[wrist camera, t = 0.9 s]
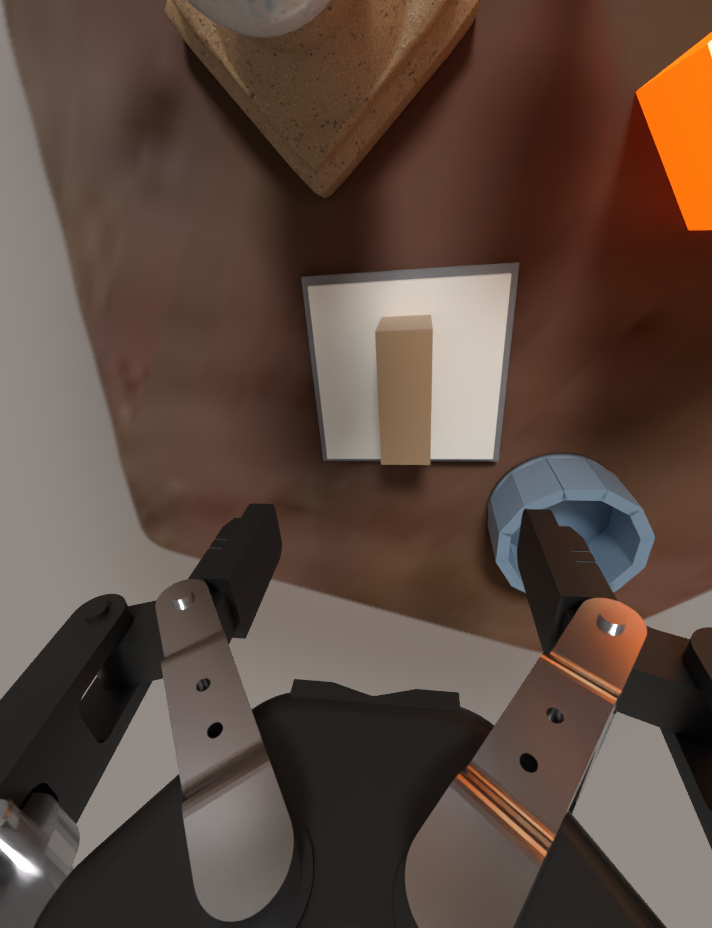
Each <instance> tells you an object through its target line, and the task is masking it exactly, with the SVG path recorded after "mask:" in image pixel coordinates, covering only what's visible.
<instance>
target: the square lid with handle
mask: <svg viewBox="0 0 712 928" xmlns="http://www.w3.org/2000/svg"><path fill="white" fill-rule="evenodd" d="M510 284H511V273H503V274H487V275H471V276H455V277H439V278H423V279H407V280H391V281H375V282H359V283H343V284H327V285H311V286H308V295H309V303H310V312H311V321H312V329H313V338H314V347H315V356H316V364H317V373H318V382H319V390H320V399H321V408H322V416H323V425H324V434H325V442H326V451H327V459H381V465H430V459H493V454H494V444H495V434H496V424H497V414H498V404H499V394H500V384H501V374H502V364H503V354H504V344H505V334H506V324H507V314H508V304H509V294H510Z"/></svg>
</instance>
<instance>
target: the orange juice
mask: <svg viewBox="0 0 712 928" xmlns="http://www.w3.org/2000/svg"><path fill="white" fill-rule="evenodd" d="M636 94H637V97H638V100H639V102H640V105H641V107H642V110H643V113H644V115H645V118H646V121H647V123H648V126H649V128H650V131H651V134H652V136H653V139H654V142H655V144H656V147H657V149H658V152H659V155H660V157H661V160H662V162H663V165H664V168H665V170H666V173H667V176H668V178H669V181H670V183H671V186H672V189H673V191H674V194H675V197H676V199H677V202H678V204H679V207H680V210H681V212H682V215H683V218H684V220H685V223H686V225H687V228H688V230H712V32H711V33H710V34H709V35H707V36H706V37H705V38H704V39H702V40H701V41H700V42H698V43H697V44H696V45H695V46H693V47H692V48H691V49H690V50H688V51H687V52H686V53H684V54H683V55H682V56H681V57H679V58H678V59H677V60H676V61H674V62H673V63H672V64H671V65H669V66H668V67H667V68H665V69H664V70H663V71H662V72H660V73H659V74H658V75H657V76H655V77H654V78H653V79H651V80H650V81H649V82H648V83H646V84H645V85H644V86H643V87H641V88H640V89H639V90H637V91H636Z"/></svg>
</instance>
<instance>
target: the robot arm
mask: <svg viewBox="0 0 712 928" xmlns="http://www.w3.org/2000/svg"><path fill="white" fill-rule="evenodd" d="M281 550H282V541H281V535H280V530H279V525H278V520H277V515H276V510H275V507H274V505H273V504H250V505H249V506H248V507H247V509H246V510H245V512H244V514H243V515H242V517H241V518H234V519H233V520H231V521H230V522H229V523H228V524H226V525H225V526H224V527H222V529H221V530H220V532H219V533H218V535H217V536H216V540H214V541H213V542H212V544H211V545H210V549H208V550H207V551H206V553H205V554H204V556H203V557H202V559H201V560H200V562H199V564H198V565H197V567H196V568H195V569H194V571H193V573H192V574H191V575H190V577H189V578H188V579H186V580H182V581H179V582H177V583H174V584H172V585H171V586H169V587H168V588H166V589H165V590H164V591H163V592H162V593H161V594H160V596H159V597H158V598H157V600H156V601H152V602H147V603H142V604H137V605H133V606H128V605H127V603H126V601H125V599H124V598H123V597H122V596H120V595H117V594H106V595H102V596H99V597H96V598H94V599H91V600H90V601H88V602H86V603H84V604H83V605H82V606H80V607H79V608H78V609H77V610H76V611H75V612H74V613H73V614H72V615H71V617H70V618H69V619H68V620H67V621H66V622H65V624H64V625H63V626H62V627H61V628H60V630H59V631H58V632H57V633H56V634H55V636H54V637H53V638H52V639H51V640H50V641H49V643H48V644H47V645H46V646H45V648H44V649H43V650H42V651H41V652H40V654H39V655H38V656H37V657H36V658H35V659H34V661H33V662H32V663H31V664H30V665H29V667H28V668H27V669H26V670H25V671H24V672H23V674H22V675H21V676H20V677H19V678H18V680H17V681H16V682H15V683H14V684H13V686H12V687H11V688H10V689H9V690H8V692H7V693H6V694H5V695H4V696H3V698H2V699H1V700H0V928H666V926H665V925H664V924H663V923H662V922H661V920H660V919H659V918H658V917H657V916H656V914H655V913H654V912H653V911H652V910H651V909H650V907H649V906H648V905H647V904H646V903H645V901H644V900H643V899H642V898H641V897H640V895H639V894H638V893H637V892H636V891H635V889H634V888H633V887H632V886H631V884H630V883H629V882H628V881H627V880H626V878H625V877H624V876H623V875H622V874H621V873H620V871H619V870H618V869H617V868H616V866H615V865H614V864H613V863H612V862H611V861H610V859H609V858H608V857H607V856H606V855H605V854H604V852H603V851H602V850H601V849H600V847H599V846H598V845H597V844H596V843H595V841H594V840H593V839H592V838H591V837H590V835H589V834H588V833H587V832H586V831H585V830H584V828H583V827H582V826H581V825H580V824H579V822H578V821H577V820H576V819H575V818H574V816H573V812H574V810H575V808H576V805H577V803H578V801H579V798H580V796H581V794H582V791H583V789H584V786H585V784H586V782H587V779H588V777H589V774H590V772H591V770H592V767H593V765H594V763H595V760H596V758H597V756H598V754H599V751H600V749H601V747H602V744H603V742H604V740H605V738H606V735H607V733H608V731H609V729H610V726H611V724H612V721H613V719H614V717H615V715H616V713H617V712H620V713H623V714H625V715H628V716H631V717H633V718H636V719H639V720H642V721H644V722H647V723H650V724H652V725H655V726H658V727H660V729H661V731H662V734H663V736H664V738H665V741H666V743H667V745H668V748H669V750H670V752H671V755H672V757H673V759H674V762H675V764H676V767H677V769H678V771H679V774H680V776H681V778H682V781H683V783H684V785H685V788H686V790H687V792H688V795H689V797H690V799H691V802H692V804H693V806H694V809H695V811H696V813H697V816H698V818H699V820H700V823H701V825H702V827H703V830H704V832H705V835H706V837H707V839H708V841H709V844H710V846H711V849H712V628H709V627H708V628H701V629H698V630H696V631H695V632H694V633H693V634H692V636H691V638H690V639H687V638H683V637H680V636H676V635H672V634H669V633H665V632H662V631H659V630H656V629H653V628H650V627H648V626H646V624H645V622H644V621H643V619H642V618H641V617H640V616H639V615H638V614H637V613H636V612H635V611H634V610H633V609H631V608H630V607H628V606H626V605H625V604H623V603H620V602H618V601H617V599H616V597H615V595H614V593H613V592H612V590H611V588H610V586H609V584H608V582H607V580H606V579H605V577H604V575H603V573H602V571H601V569H600V568H599V566H598V564H597V563H596V560H595V558H594V556H593V555H592V553H590V549H589V547H588V545H587V544H586V542H585V540H584V538H583V537H582V536H581V535H580V534H578V533H577V532H576V531H575V530H574V529H572V528H571V527H570V526H559V525H558V523H557V521H556V519H555V516H554V514H553V512H552V511H551V510H550V509H524V510H523V513H522V519H521V526H520V532H519V539H518V546H517V563H518V568H519V572H520V575H521V579H522V582H523V585H524V589H525V592H526V595H527V599H528V602H529V605H530V609H531V612H532V615H533V619H534V622H535V626H536V629H537V632H538V636H539V639H540V642H541V646H542V649H543V652H544V653H543V654H542V655H541V656H540V658H539V659H538V661H537V662H536V664H535V665H534V667H533V668H532V670H531V672H530V673H529V674H528V676H527V677H526V679H525V681H524V682H523V683H522V685H521V687H520V688H519V689H518V691H517V693H516V694H515V696H514V697H513V699H512V700H511V702H510V703H509V705H508V706H507V708H506V709H505V711H504V712H503V714H502V715H501V717H500V718H499V720H498V721H497V723H496V724H495V726H494V725H493V724H491V723H490V722H489V721H487V720H485V719H484V718H483V717H481V716H479V715H478V714H476V713H474V712H471V711H470V710H467V709H465V708H462V707H460V702H459V693H457V692H445V691H433V690H421V689H414V690H409V691H403V692H397V693H391V694H385V695H379V696H370V695H367V694H364V693H361V692H359V691H356V690H353V689H350V688H347V687H345V686H342V685H339V684H336V683H333V682H323V681H311V680H310V681H309V680H298V679H294V682H293V686H292V689H291V693H286V694H282V695H279V696H276V697H274V698H271V699H269V700H267V701H265V702H263V703H261V704H260V705H258V706H256V707H255V708H253V709H252V710H251V707H250V704H249V701H248V698H247V695H246V693H245V690H244V687H243V684H242V681H241V678H240V676H239V673H238V670H237V667H236V664H235V661H234V658H233V656H232V653H231V650H230V647H229V643H230V641H231V639H232V638H246V636H247V634H248V632H249V629H250V627H251V625H252V622H253V620H254V618H255V615H256V613H257V611H258V608H259V606H260V604H261V601H262V599H263V596H264V594H265V592H266V589H267V587H268V585H269V582H270V580H271V578H272V576H273V573H274V571H275V569H276V566H277V564H278V562H279V559H280V556H281ZM96 675H97V678H96V679H95V680H94V682H93V683H92V685H91V687H90V688H89V689H88V691H87V693H86V694H85V696H84V697H83V699H82V700H81V698H82V696H83V694H84V693H85V691H86V690H87V688H88V687H89V685H90V684H91V682H92V680H93V679H94V678H95V676H96ZM162 678H163V680H164V686H165V692H166V698H167V703H168V710H169V716H170V721H171V727H172V733H173V739H174V745H175V751H176V757H177V763H178V769H179V775H177V776H176V777H175V778H174V779H173V780H172V781H171V782H169V784H167V785H166V786H165V787H164V788H163V789H162V790H161V791H159V792H158V793H157V794H156V795H155V796H154V797H153V798H152V799H151V800H149V801H148V802H147V803H146V804H145V805H144V806H143V807H142V808H140V809H139V810H138V811H137V812H136V813H135V814H134V815H133V816H132V817H131V818H129V819H128V820H127V821H126V822H125V823H124V824H123V825H121V826H120V827H119V828H118V829H117V830H116V831H115V832H114V833H112V834H111V835H110V836H109V837H108V838H107V839H106V840H105V841H104V842H102V843H101V844H100V845H99V846H98V847H97V848H96V849H95V850H93V851H92V852H91V853H90V854H89V855H88V856H87V857H86V858H85V859H84V860H83V861H82V862H81V863H80V864H78V865H77V866H76V867H75V868H74V869H73V866H72V864H73V861H74V859H75V856H76V854H77V851H78V847H79V840H80V835H79V829H78V827H77V825H76V823H77V821H78V819H79V818H80V816H81V814H82V812H83V810H84V808H85V807H86V805H87V803H88V801H89V799H90V797H91V795H92V793H93V792H94V790H95V788H96V786H97V784H98V782H99V780H100V778H101V776H102V775H103V773H104V771H105V769H106V767H107V765H108V763H109V761H110V760H111V758H112V756H113V754H114V752H115V750H116V748H117V746H118V745H119V743H120V741H121V739H122V737H123V735H124V733H125V731H126V729H127V728H128V725H129V724H130V722H131V720H132V718H133V716H134V715H135V713H136V711H137V709H138V707H139V705H140V703H141V701H142V700H143V697H144V696H145V694H146V692H147V690H148V688H149V686H150V685H151V683H152V681H153V680H158V679H162ZM80 701H81V702H80ZM72 869H73V870H72Z"/></svg>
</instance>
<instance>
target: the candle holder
mask: <svg viewBox="0 0 712 928" xmlns="http://www.w3.org/2000/svg"><path fill="white" fill-rule="evenodd" d="M479 1H480V0H167V2H166V6H165V10H164V11H165V13H166V15H167V17H168V19H169V20H170V22H171V23H172V24H173V26H174V27H175V28H176V30H177V31H178V32H179V34H180V35H181V36H182V38H183V39H184V40H185V42H186V43H187V44H188V46H189V47H190V48H191V50H192V51H193V52H194V53H195V54H196V56H197V57H198V58H199V59H200V60H201V62H202V63H203V64H204V65H205V66H206V67H207V69H208V70H209V71H210V72H211V73H212V75H213V76H214V77H215V78H216V79H217V80H218V82H219V83H220V84H221V85H222V86H223V88H224V89H225V90H226V91H227V92H228V93H229V95H230V96H231V97H232V98H233V99H234V101H235V102H236V103H237V104H238V105H239V107H240V108H241V109H242V110H243V111H244V112H245V114H246V115H247V116H248V117H249V118H250V120H251V121H252V122H253V123H254V124H255V125H256V127H257V128H258V129H259V130H260V131H261V133H262V134H263V135H264V136H265V137H266V138H267V140H268V141H269V142H270V143H271V144H272V146H273V147H274V148H275V149H276V150H277V151H278V153H279V154H280V155H281V156H282V157H283V159H284V160H285V161H286V162H287V163H288V164H289V166H290V167H291V168H292V169H293V170H294V172H295V173H296V174H297V175H298V176H299V177H300V178H301V179H302V180H303V181H304V182H305V183H306V184H307V185H308V186H309V187H310V188H311V189H312V191H313V192H314V193H316V194H318V195H319V196H321V197H323V198H325V199H326V198H328V197H330V196H332V195H333V193H334V192H335V191H336V190H337V189H338V188H339V187H340V186H341V185H342V184H343V182H344V181H345V180H346V179H347V178H348V177H349V176H350V175H351V173H352V172H353V171H354V170H355V169H356V167H357V166H358V165H359V164H360V163H361V161H362V160H363V159H364V158H365V157H366V155H367V154H368V153H369V152H370V150H371V149H372V148H373V147H374V146H375V144H376V143H377V142H378V141H379V140H380V138H381V137H382V136H383V135H384V134H385V132H386V131H387V130H388V129H389V127H390V126H391V125H392V124H393V123H394V121H395V120H396V119H397V118H398V117H399V115H400V114H401V113H402V112H403V111H404V109H405V108H406V107H407V106H408V104H409V103H410V102H411V101H412V100H413V98H414V97H415V96H416V95H417V94H418V92H419V91H420V90H421V89H422V88H423V86H424V85H425V84H426V83H427V81H428V80H429V79H430V78H431V77H432V75H433V74H434V73H435V72H436V71H437V69H438V68H439V67H440V66H441V65H442V63H443V62H444V61H445V60H446V58H447V57H448V56H449V55H450V54H451V52H452V51H453V50H454V48H455V47H456V46H457V44H458V43H459V42H460V40H461V39H462V38H463V36H464V35H465V34H466V32H467V31H468V30H469V28H470V27H471V26H472V24H473V22H474V19H475V17H476V15H477V10H478V6H479Z"/></svg>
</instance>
